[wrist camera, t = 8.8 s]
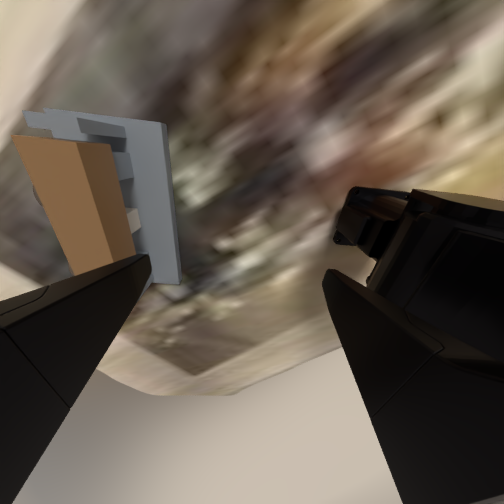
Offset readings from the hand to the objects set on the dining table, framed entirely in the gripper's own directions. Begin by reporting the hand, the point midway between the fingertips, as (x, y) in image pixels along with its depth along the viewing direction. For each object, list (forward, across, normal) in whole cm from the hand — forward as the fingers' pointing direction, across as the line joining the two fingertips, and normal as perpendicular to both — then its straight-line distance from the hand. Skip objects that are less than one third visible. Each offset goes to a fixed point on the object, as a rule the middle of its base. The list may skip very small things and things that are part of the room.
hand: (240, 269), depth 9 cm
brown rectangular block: (+8, +12, +2) cm, 14 cm away
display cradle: (+12, +12, +2) cm, 17 cm away
